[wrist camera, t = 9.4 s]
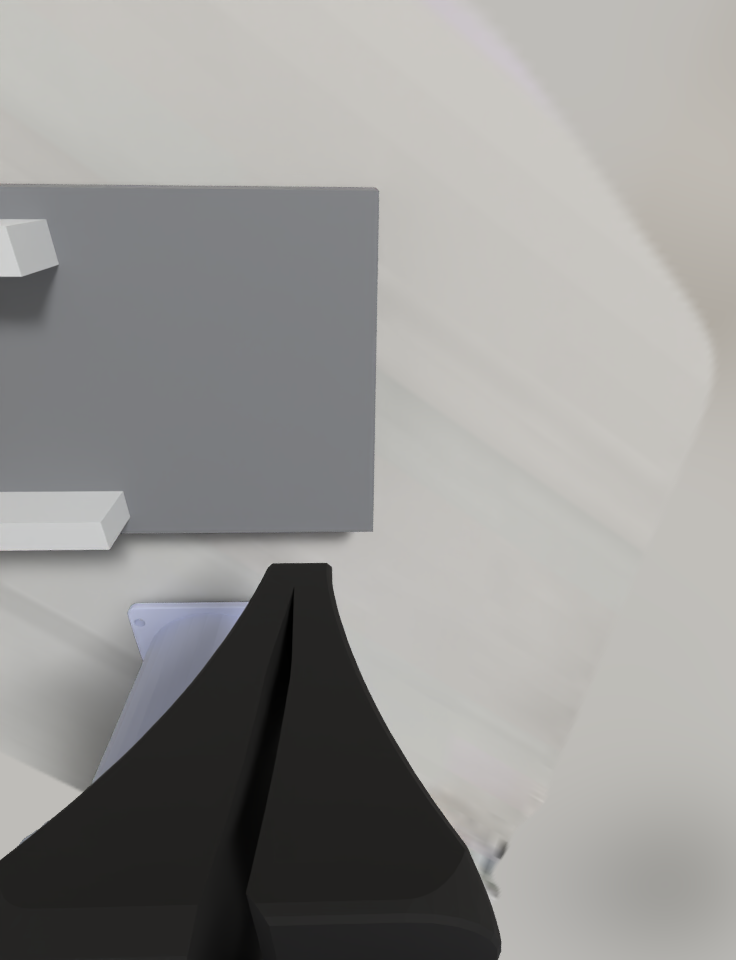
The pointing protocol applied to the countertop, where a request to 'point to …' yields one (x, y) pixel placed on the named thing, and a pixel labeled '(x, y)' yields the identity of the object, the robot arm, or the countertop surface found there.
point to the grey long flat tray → (185, 361)
